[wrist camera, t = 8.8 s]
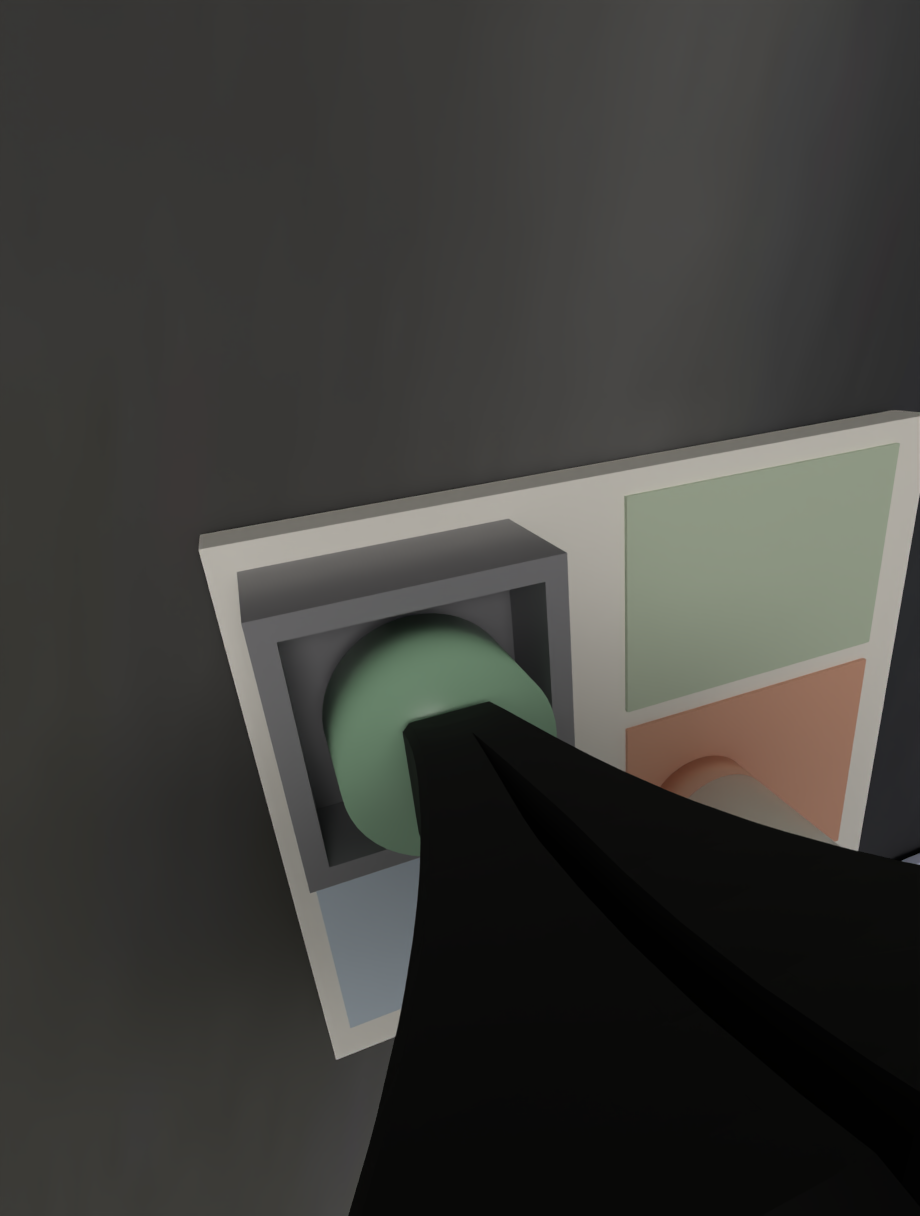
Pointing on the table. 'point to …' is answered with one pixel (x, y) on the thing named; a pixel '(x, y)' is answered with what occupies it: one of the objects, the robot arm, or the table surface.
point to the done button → (412, 711)
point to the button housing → (363, 601)
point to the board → (644, 640)
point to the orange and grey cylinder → (738, 795)
